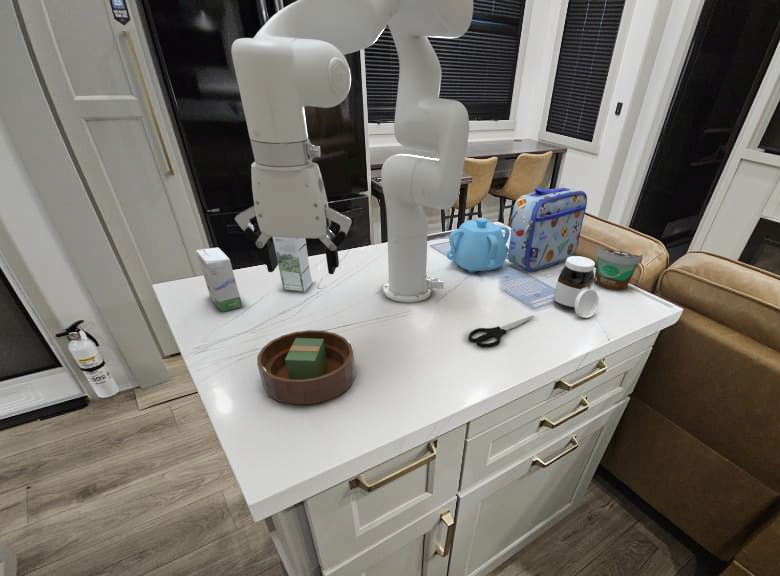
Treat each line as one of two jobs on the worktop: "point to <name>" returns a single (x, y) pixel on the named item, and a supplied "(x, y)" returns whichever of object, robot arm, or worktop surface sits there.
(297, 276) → the syrup box
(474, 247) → the decorative pot
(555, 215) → the lunch box
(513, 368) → the worktop surface
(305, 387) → the bowl
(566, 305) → the spread jar
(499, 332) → the scissors
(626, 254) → the food container
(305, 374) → the package
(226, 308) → the ink box
